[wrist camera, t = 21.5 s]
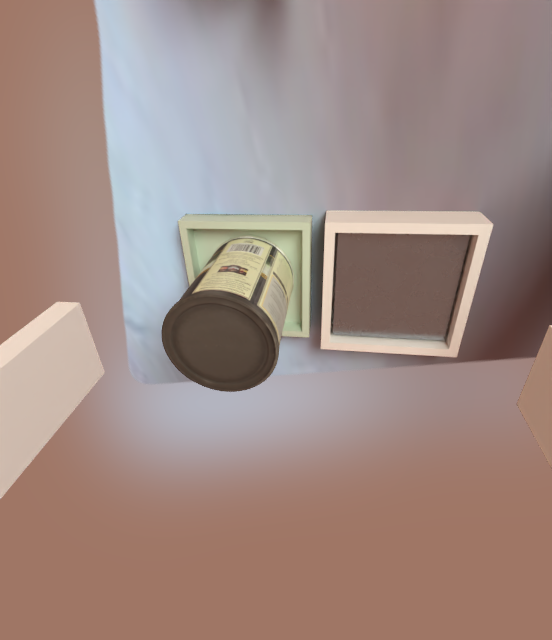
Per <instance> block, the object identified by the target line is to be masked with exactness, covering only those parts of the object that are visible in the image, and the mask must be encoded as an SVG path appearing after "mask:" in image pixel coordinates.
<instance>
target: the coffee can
mask: <svg viewBox="0 0 552 640" xmlns="http://www.w3.org/2000/svg"><path fill="white" fill-rule="evenodd" d="M294 279H295V277H294V271H293V267H292V264H291V261H290V260H289V258H288V257H287V255H286V254H285V253H284V251H283V250H282V249H281V248H280V247H278V246H277V245H276V244H274V243H273V242H271V241H269V240H267V239H266V238H262V237H258V236H252V235H242V236H237V237H234V238H230V239H228V240H227V241H225V242H224V243H222V244H221V245H220V246H219V247H218V248H217V249H216V251H215V252H214V254H213V255H212V257H211V259H210V260H209V261H208V263H207V264H206V265H205V267H204V268H203V269H202V271H201V272H200V273H199V275H198V276H197V278H196V279H195V280H194V282H193V283H192V284H191V285H190V287H189V288H188V290H187V291H186V292H185V294H184V295H183V296H182V298H181V299H180V300H179V301H178V302H177V303H176V304H175V305H174V306H173V307H172V308H171V309H170V311H169V312H168V313H167V315H166V317H165V319H164V322H163V326H162V342H163V346H164V349H165V351H166V353H167V355H168V357H169V359H170V360H171V362H172V363H173V364H174V365H175V367H176V368H177V369H178V370H179V371H180V372H181V373H182V374H184V375H185V376H186V377H187V378H189V379H191V380H192V381H194V382H196V383H198V384H200V385H202V386H204V387H208V388H210V389H214V390H219V391H229V392H230V391H231V392H232V391H233V392H234V391H242V390H247V389H250V388H253V387H255V386H257V385H259V384H261V383H262V382H263V381H265V380H266V379H267V378H268V377H269V376H270V375H271V373H272V372H273V370H274V368H275V366H276V364H277V360H278V355H279V345H280V340H281V336H282V332H283V327H284V323H285V319H286V314H287V310H288V306H289V301H290V297H291V294H292V291H293V287H294Z"/></svg>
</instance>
